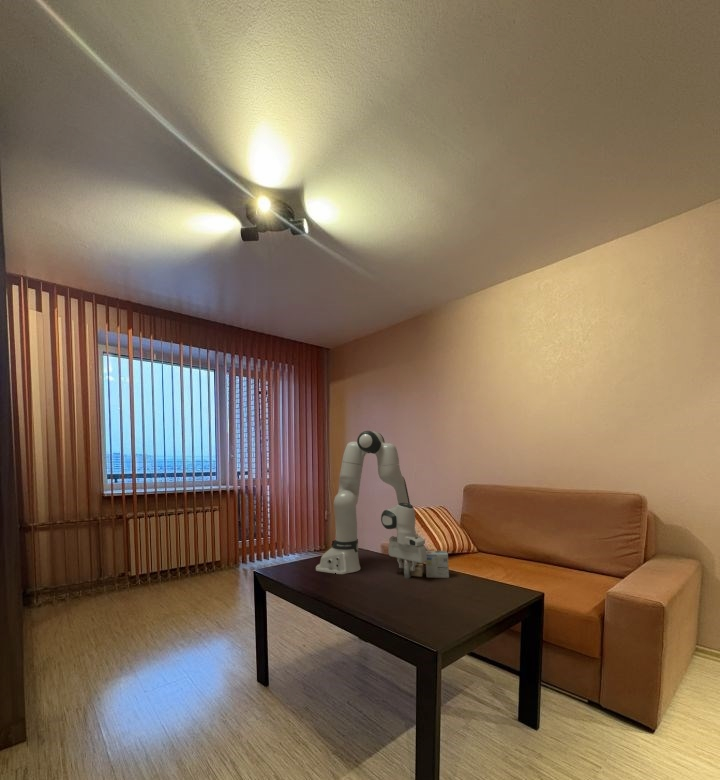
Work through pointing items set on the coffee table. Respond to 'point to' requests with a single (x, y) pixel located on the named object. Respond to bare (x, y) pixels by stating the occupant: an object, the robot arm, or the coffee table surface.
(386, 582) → the coffee table surface
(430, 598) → the coffee table surface
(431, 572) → the light bulb box
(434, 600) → the coffee table surface
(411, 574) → the hole block
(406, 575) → the peg
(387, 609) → the coffee table surface
